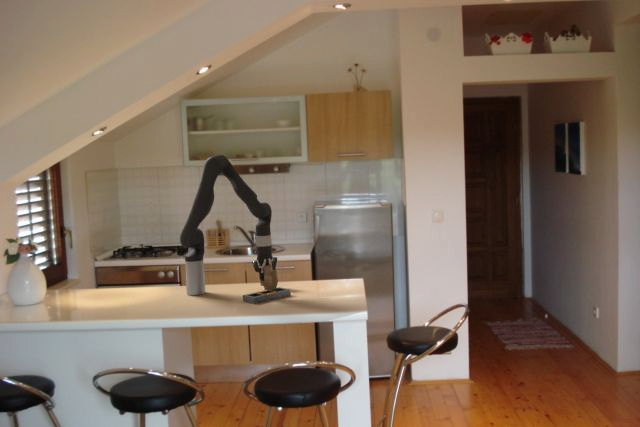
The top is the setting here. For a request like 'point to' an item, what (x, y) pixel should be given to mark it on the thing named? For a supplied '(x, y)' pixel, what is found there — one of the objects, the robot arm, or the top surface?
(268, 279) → the walnut peg
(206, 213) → the robot arm
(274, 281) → the squeeze bottle
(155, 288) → the top surface
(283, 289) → the grey compartment tray
